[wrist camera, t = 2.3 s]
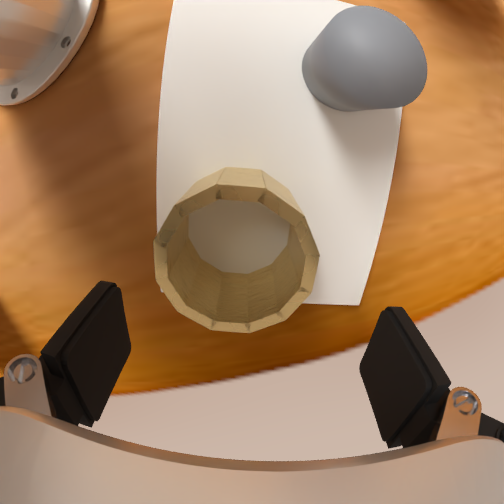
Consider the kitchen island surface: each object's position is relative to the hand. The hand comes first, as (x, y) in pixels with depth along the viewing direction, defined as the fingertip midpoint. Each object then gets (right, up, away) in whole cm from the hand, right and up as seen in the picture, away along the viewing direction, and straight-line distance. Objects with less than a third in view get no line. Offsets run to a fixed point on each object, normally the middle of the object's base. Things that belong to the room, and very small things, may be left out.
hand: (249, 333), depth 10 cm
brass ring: (-1, +4, +7) cm, 8 cm away
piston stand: (+2, +9, +6) cm, 11 cm away
